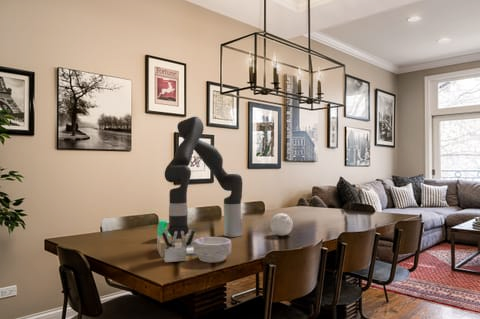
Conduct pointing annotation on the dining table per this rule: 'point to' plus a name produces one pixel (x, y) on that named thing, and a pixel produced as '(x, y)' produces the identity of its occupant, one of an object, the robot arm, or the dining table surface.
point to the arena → (162, 244)
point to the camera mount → (162, 227)
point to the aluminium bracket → (175, 253)
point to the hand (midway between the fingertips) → (178, 255)
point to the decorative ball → (281, 224)
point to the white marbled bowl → (212, 248)
